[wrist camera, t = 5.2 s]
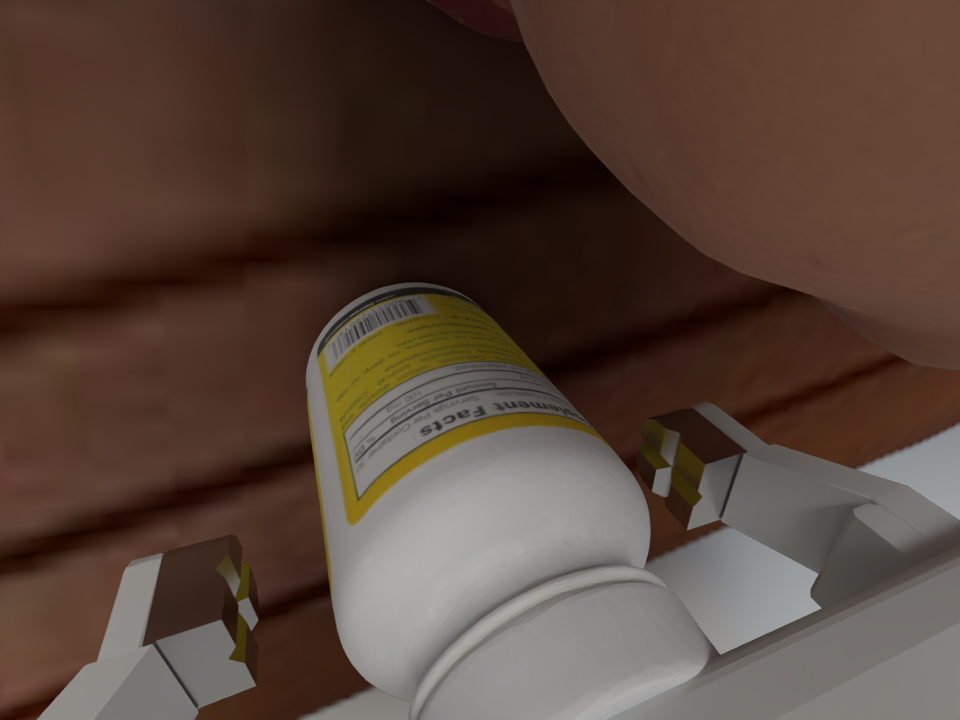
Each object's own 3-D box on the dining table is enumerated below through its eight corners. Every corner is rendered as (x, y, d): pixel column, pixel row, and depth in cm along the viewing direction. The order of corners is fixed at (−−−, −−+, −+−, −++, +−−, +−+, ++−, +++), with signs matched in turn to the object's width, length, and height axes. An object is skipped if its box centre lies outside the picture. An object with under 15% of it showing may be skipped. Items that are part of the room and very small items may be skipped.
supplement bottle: (453, 457, 16) (635, 848, 8) (278, 431, 13) (286, 983, 5) (530, 309, 14) (864, 622, 6) (345, 244, 11) (512, 650, 3)
